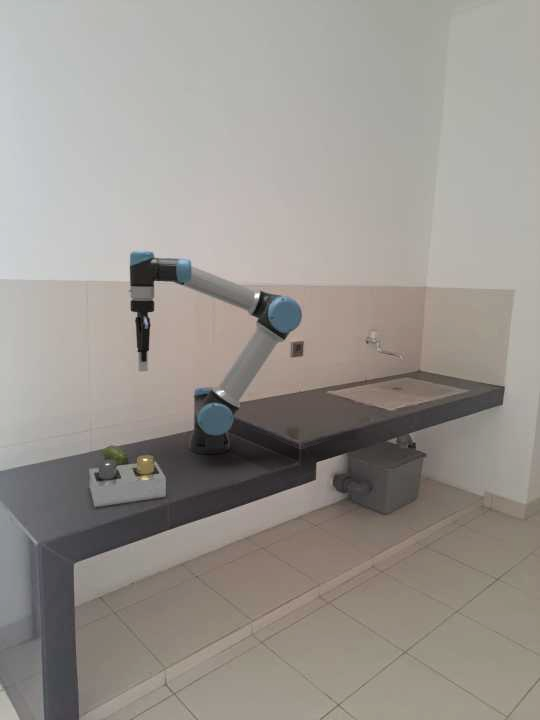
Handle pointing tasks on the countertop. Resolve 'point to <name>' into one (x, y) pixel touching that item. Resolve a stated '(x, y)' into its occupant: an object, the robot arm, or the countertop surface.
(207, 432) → the robot arm
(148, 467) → the yellow piece
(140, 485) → the block
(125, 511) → the countertop surface
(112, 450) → the pear
